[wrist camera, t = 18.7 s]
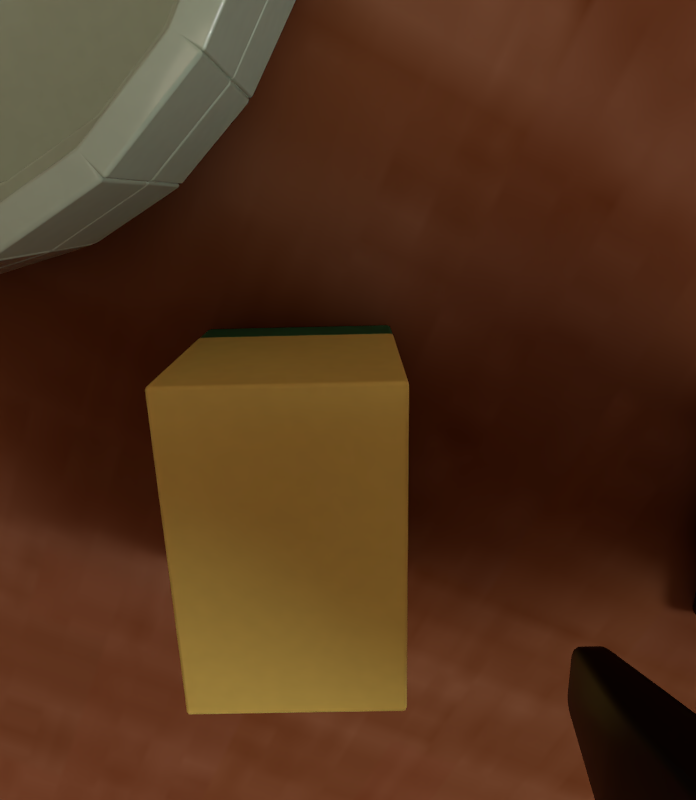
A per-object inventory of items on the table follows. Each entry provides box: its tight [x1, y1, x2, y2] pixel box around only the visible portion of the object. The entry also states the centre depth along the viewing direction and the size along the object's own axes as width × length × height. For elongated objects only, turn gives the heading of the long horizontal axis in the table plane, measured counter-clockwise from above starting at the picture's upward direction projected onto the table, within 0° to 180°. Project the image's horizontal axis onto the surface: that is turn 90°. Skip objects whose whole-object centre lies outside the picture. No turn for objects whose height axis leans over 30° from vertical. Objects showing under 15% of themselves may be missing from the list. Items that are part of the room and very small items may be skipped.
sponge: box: [145, 325, 409, 714], centre depth 14 cm, size 4×7×5 cm, turn 1°
